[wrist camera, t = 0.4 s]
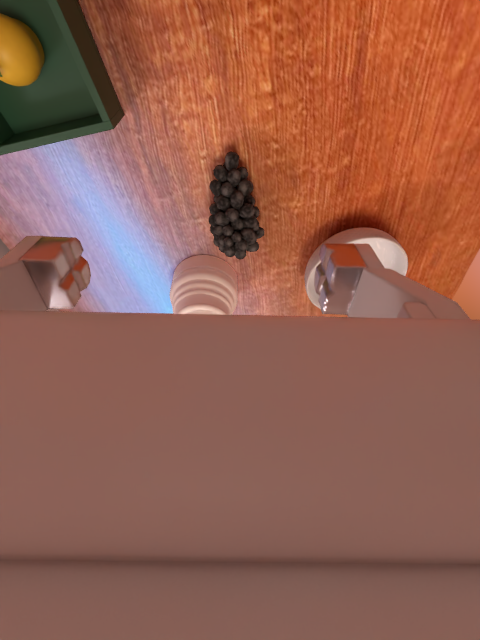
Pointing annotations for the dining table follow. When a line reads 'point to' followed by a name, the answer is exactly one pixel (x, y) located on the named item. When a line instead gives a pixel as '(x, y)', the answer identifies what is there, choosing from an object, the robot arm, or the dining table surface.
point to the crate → (57, 81)
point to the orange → (19, 53)
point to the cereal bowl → (377, 239)
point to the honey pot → (204, 286)
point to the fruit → (234, 210)
